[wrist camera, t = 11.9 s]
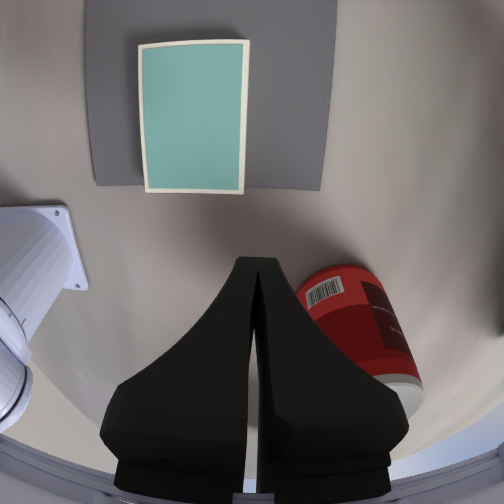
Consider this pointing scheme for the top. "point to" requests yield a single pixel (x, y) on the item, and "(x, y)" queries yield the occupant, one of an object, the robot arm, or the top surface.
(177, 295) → the top surface
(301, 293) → the canned food
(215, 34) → the mat
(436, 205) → the top surface
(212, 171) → the slab
